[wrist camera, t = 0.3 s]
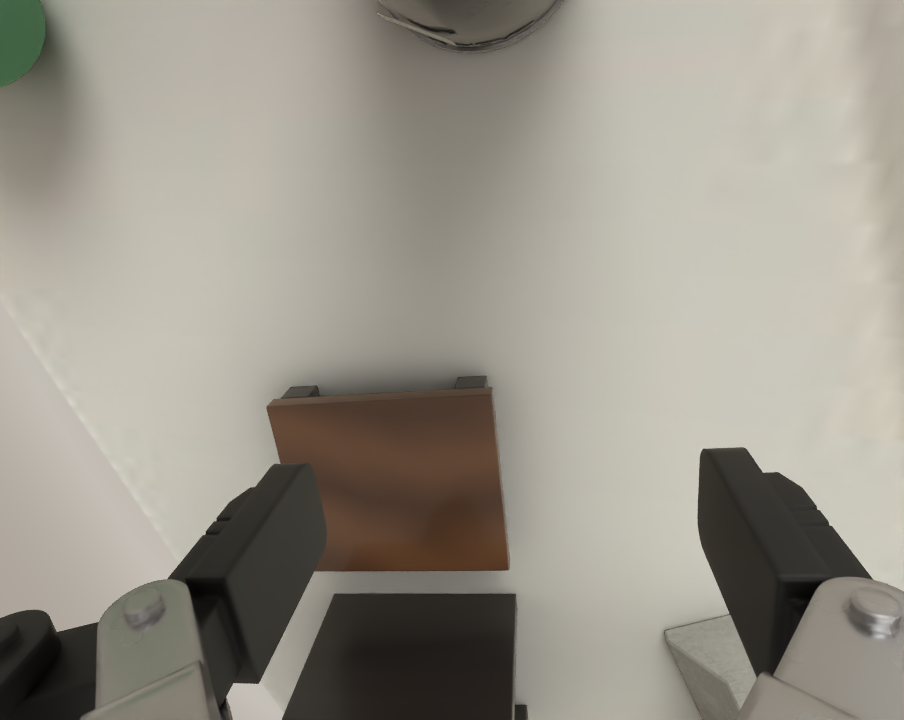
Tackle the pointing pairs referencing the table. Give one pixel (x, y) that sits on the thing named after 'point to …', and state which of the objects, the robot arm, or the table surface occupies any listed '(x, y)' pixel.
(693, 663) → the barrier
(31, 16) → the alien toy
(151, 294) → the table surface
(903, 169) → the table surface
